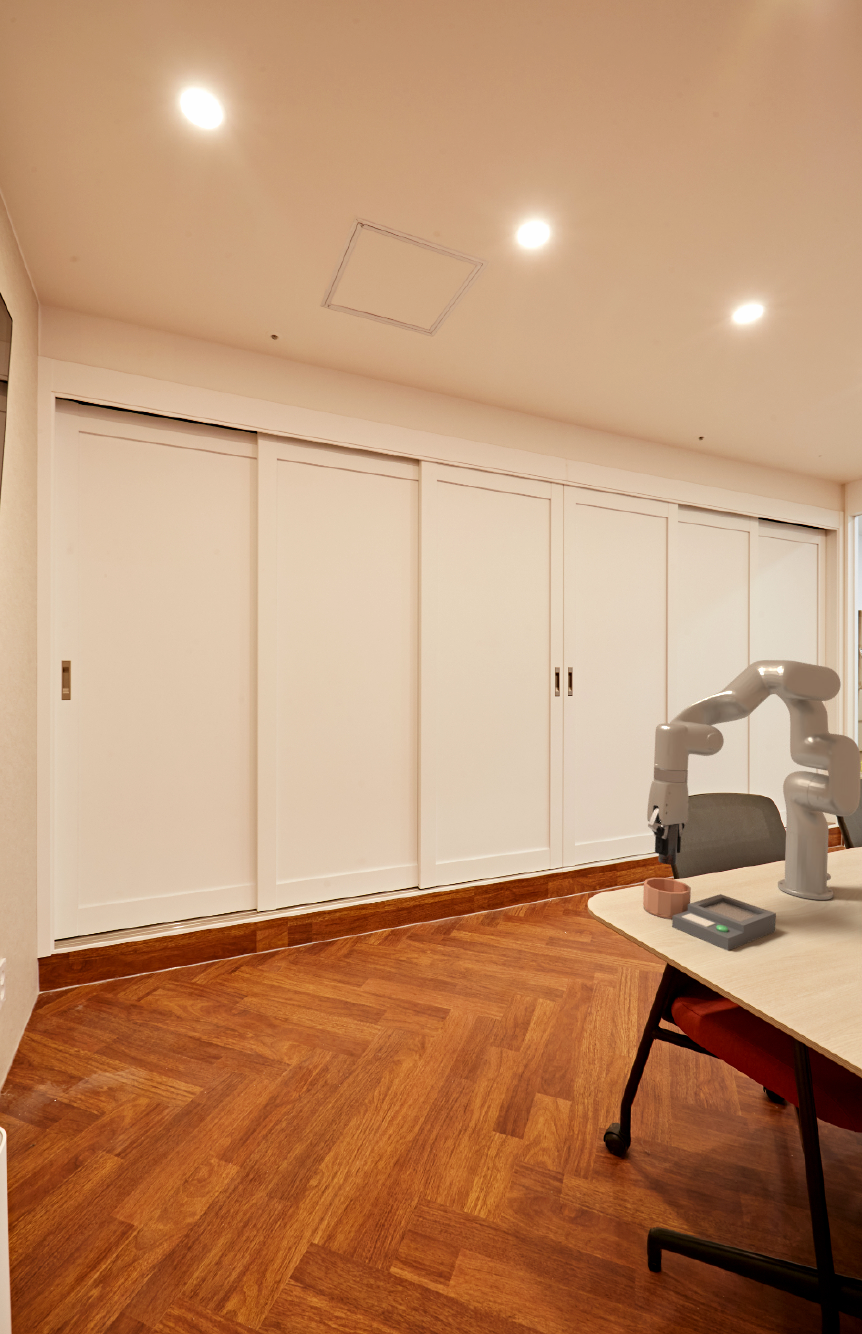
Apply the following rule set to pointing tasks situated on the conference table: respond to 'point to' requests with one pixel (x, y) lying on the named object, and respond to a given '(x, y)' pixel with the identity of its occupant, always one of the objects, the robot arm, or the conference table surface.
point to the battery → (670, 846)
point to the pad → (732, 911)
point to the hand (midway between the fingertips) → (667, 852)
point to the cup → (665, 897)
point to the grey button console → (724, 923)
